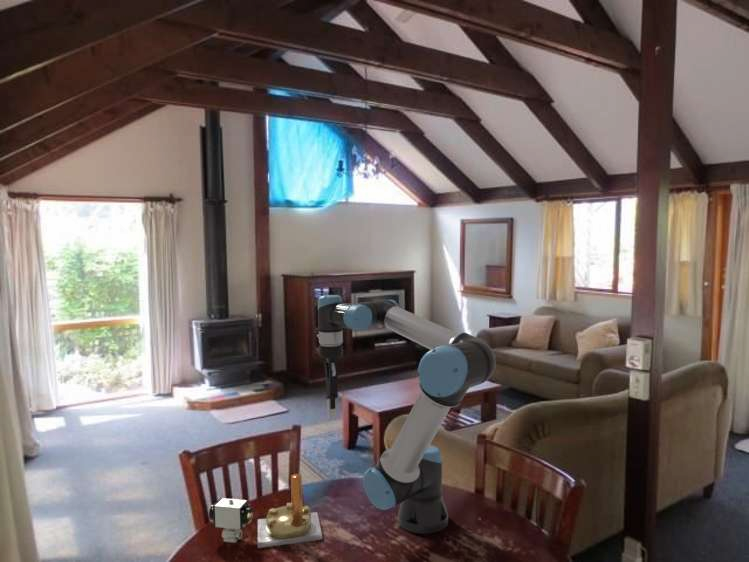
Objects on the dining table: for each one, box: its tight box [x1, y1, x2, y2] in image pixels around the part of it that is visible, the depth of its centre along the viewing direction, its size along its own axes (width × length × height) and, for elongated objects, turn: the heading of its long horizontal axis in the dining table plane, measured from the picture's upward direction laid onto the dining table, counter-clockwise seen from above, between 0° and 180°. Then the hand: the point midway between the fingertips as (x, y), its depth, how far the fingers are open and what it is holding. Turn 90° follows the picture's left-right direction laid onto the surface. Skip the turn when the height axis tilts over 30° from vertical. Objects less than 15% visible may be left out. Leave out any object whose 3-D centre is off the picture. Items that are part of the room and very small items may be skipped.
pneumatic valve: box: [208, 497, 255, 544], centre depth 149 cm, size 6×12×12 cm, turn 78°
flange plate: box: [257, 511, 323, 549], centre depth 153 cm, size 18×13×2 cm
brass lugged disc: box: [266, 473, 312, 538], centre depth 152 cm, size 14×13×17 cm
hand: (332, 417), depth 165 cm, fingers closed
